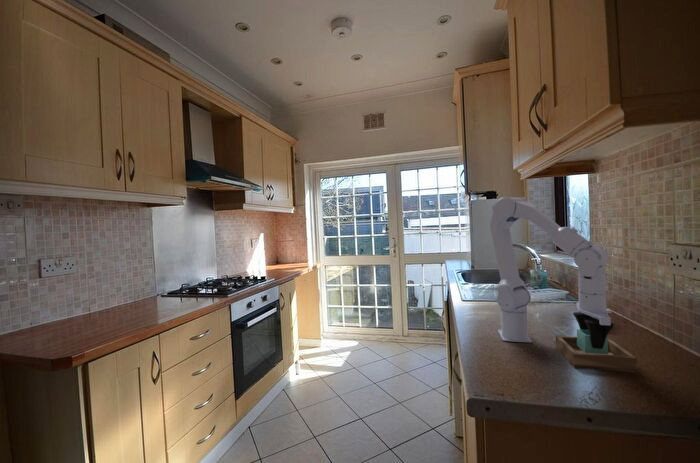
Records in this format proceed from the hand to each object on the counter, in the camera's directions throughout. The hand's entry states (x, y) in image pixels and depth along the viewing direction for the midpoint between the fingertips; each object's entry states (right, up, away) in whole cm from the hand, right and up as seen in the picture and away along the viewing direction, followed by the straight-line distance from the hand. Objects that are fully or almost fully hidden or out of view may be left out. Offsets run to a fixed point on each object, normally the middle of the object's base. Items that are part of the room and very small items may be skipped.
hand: (592, 344), depth 85 cm
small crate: (0, -2, 0) cm, 2 cm away
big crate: (0, -4, 0) cm, 4 cm away
